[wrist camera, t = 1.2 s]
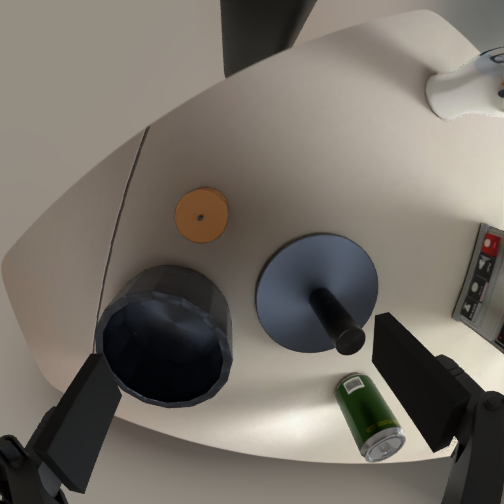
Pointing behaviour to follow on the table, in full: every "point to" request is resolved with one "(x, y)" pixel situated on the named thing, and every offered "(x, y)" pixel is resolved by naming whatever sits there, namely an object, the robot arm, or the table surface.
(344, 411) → the beer can
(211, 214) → the candle
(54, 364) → the table surface
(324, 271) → the tin lid
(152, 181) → the table surface
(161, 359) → the tin
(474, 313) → the cassette tape recorder
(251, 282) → the table surface
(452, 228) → the table surface
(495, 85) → the beer glass
